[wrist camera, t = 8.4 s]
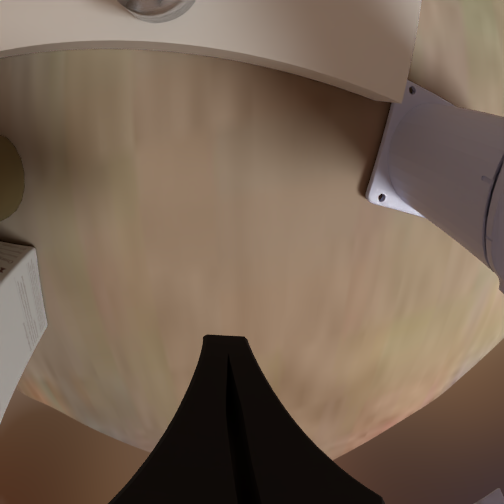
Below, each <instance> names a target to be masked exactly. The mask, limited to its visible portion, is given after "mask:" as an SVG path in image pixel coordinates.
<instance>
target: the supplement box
mask: <svg viewBox="0 0 504 504" xmlns="http://www.w3.org/2000/svg"><path fill="white" fill-rule="evenodd" d="M47 326H48V324H47V319H46V314H45V309H44V304H43V297H42V292H41V285H40V278H39V271H38V264H37V255H36V249H35V248H34V247H30V246H22V245H16V244H11V243H6V242H1V241H0V423H1V420H2V418H3V415H4V413H5V410H6V408H7V406H8V403H9V401H10V399H11V397H12V394H13V392H14V390H15V388H16V386H17V383H18V381H19V379H20V377H21V375H22V373H23V371H24V369H25V367H26V365H27V363H28V361H29V359H30V357H31V355H32V353H33V351H34V349H35V347H36V346H37V344H38V342H39V340H40V338H41V336H42V335H43V333H44V331H45V329H46V328H47Z"/></svg>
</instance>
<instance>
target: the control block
mask: <svg viewBox="0 0 504 504" xmlns="http://www.w3.org/2000/svg"><path fill="white" fill-rule="evenodd" d="M421 1H422V0H196V1H195V3H194V4H193V6H192V7H191V8H190V9H189V10H188V11H187V12H186V13H184V14H183V15H181V16H180V17H178V18H176V19H174V20H171V21H168V22H163V23H148V22H144V21H141V20H139V19H138V18H136V17H135V16H134V15H132V14H131V13H130V12H129V11H128V10H127V9H126V8H125V7H124V6H122V5H121V4H120V3H119V2H118V1H117V0H0V58H4V57H10V56H16V55H23V54H31V53H39V52H49V51H61V50H77V49H137V50H154V51H167V52H177V53H186V54H195V55H202V56H209V57H216V58H222V59H228V60H233V61H239V62H244V63H249V64H254V65H258V66H263V67H267V68H272V69H276V70H280V71H284V72H288V73H291V74H295V75H299V76H302V77H306V78H309V79H313V80H316V81H319V82H323V83H326V84H329V85H332V86H335V87H338V88H341V89H344V90H347V91H350V92H353V93H355V94H358V95H361V96H364V97H366V98H369V99H371V100H374V101H383V102H392V103H400V104H402V100H403V96H404V92H405V88H406V83H407V79H408V74H409V70H410V65H411V60H412V55H413V50H414V45H415V39H416V34H417V28H418V22H419V15H420V8H421Z"/></svg>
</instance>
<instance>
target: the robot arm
mask: <svg viewBox="0 0 504 504" xmlns="http://www.w3.org/2000/svg"><path fill="white" fill-rule="evenodd" d="M410 87H411V88H412V93H410V92H409V88H410ZM380 194H383V195H382V198H381V199H380V200H378V197H379V195H380ZM366 199H367V200H368V201H369V202H371V203H373V204H377V205H380V206H384V207H388V208H392V209H395V210H399V211H403V212H406V213H410V214H413V215H417V216H420V217H424V218H427V219H428V220H429V221H431V222H432V223H433V224H435V225H436V226H437V227H439V228H440V229H441V230H443V231H444V232H445V233H447V234H448V235H449V236H451V237H452V238H453V239H454V240H456V241H457V242H458V243H460V244H461V245H462V246H463V247H465V248H466V249H467V250H468V251H469V252H471V253H472V254H473V255H474V256H476V257H477V258H478V259H479V260H480V261H481V262H483V263H484V264H485V265H486V266H487V267H488V268H490V269H491V270H492V271H493V272H495V274H496V275H497V276H498V278H499V282H500V285H499V290H500V291H501V292H502V293H504V117H502V116H497V115H493V114H489V113H485V112H480V111H475V110H470V109H465V108H460V107H456V106H454V105H453V104H451V103H449V102H448V101H446V100H444V99H443V98H441V97H439V96H437V95H435V94H434V93H432V92H430V91H428V90H426V89H424V88H422V87H421V86H419V85H417V84H415V83H413V82H411V81H409V80H407V83H406V88H405V92H404V96H403V100H402V104H400V103H391V107H390V111H389V115H388V119H387V123H386V126H385V130H384V134H383V137H382V141H381V144H380V148H379V151H378V155H377V158H376V162H375V165H374V168H373V172H372V175H371V178H370V181H369V184H368V187H367V191H366ZM108 504H385V502H384V501H383V499H382V497H381V496H379V495H378V494H376V493H375V492H373V491H371V490H370V489H368V488H367V487H365V486H364V485H362V484H361V483H360V482H358V481H357V480H355V479H354V478H353V477H351V476H350V475H349V474H348V473H346V472H345V471H344V470H343V469H341V468H340V467H339V466H338V465H337V464H336V463H334V462H333V461H332V460H331V459H330V458H329V457H328V456H327V455H326V454H325V453H324V452H322V451H321V450H320V449H319V448H318V447H317V446H316V445H315V444H314V443H313V442H312V440H311V439H310V438H309V437H308V436H307V435H306V434H305V433H304V432H303V431H302V429H301V428H300V427H299V426H298V425H297V423H296V422H295V421H294V420H293V418H292V417H291V416H290V414H289V413H288V412H287V410H286V409H285V408H284V406H283V405H282V403H281V402H280V400H279V399H278V397H277V396H276V394H275V393H274V391H273V390H272V388H271V386H270V385H269V383H268V381H267V380H266V378H265V376H264V374H263V373H262V371H261V369H260V367H259V365H258V363H257V361H256V359H255V357H254V355H253V353H252V350H251V348H250V346H249V343H248V340H247V339H246V338H245V337H242V336H222V335H205V336H204V337H203V345H202V350H201V354H200V358H199V361H198V364H197V367H196V370H195V372H194V375H193V377H192V380H191V382H190V385H189V387H188V389H187V391H186V394H185V396H184V398H183V400H182V402H181V404H180V406H179V408H178V410H177V412H176V414H175V416H174V417H173V419H172V421H171V423H170V424H169V426H168V428H167V429H166V431H165V433H164V434H163V436H162V437H161V439H160V440H159V442H158V443H157V445H156V447H155V448H154V449H153V451H152V452H151V454H150V455H149V457H148V458H147V459H146V460H145V462H144V463H143V464H142V466H141V467H140V468H139V469H138V471H137V472H136V473H135V475H134V476H133V477H132V478H131V479H130V481H129V482H128V483H127V484H126V485H125V487H124V488H122V490H121V491H120V492H119V493H118V494H117V495H116V496H115V497H114V498H113V499H112V500H111V501H110V502H109V503H108ZM475 504H504V497H503V495H502V493H501V490H500V489H499V488H498V489H496V490H495V491H493V492H492V493H490V494H489V495H487V496H486V497H484V498H483V499H481V500H479V501H478V502H476V503H475Z"/></svg>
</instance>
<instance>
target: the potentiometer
mask: <svg viewBox="0 0 504 504" xmlns="http://www.w3.org/2000/svg"><path fill="white" fill-rule="evenodd" d="M117 1H118V2H119V3H120V4H121V5H122V6H124V7H125V8H126V9H127V10H128V11H129V12H130V13H131V14H132V15H134V16H135V17H136V18H138V19H139V20H141V21H144V22H148V23H163V22H168V21H171V20H174V19H176V18H178V17H180V16H181V15H183V14H184V13H186V12H187V11H188V10H189V9H190V8H191V7H192V6H193V4H194V3H195V1H196V0H117Z"/></svg>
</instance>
